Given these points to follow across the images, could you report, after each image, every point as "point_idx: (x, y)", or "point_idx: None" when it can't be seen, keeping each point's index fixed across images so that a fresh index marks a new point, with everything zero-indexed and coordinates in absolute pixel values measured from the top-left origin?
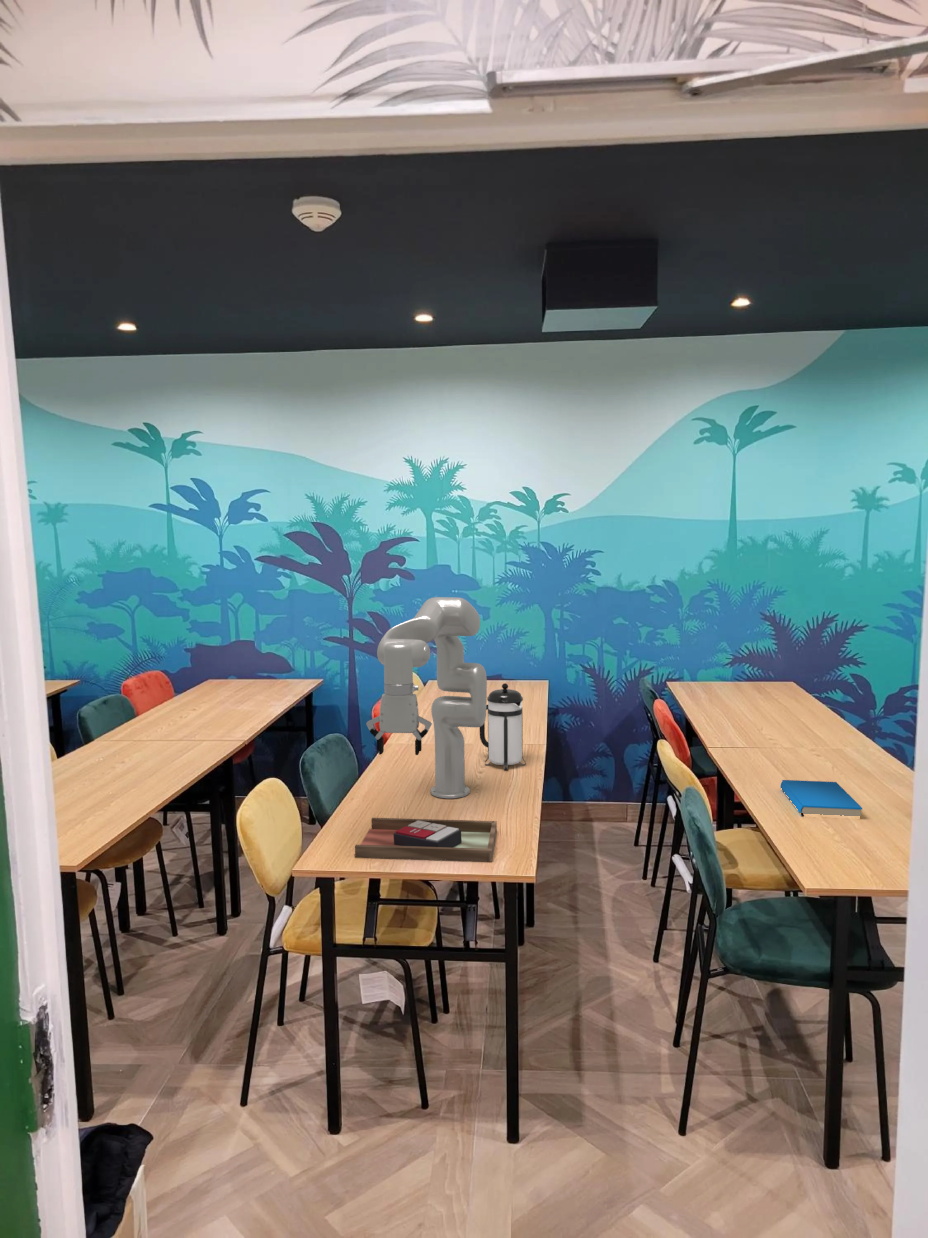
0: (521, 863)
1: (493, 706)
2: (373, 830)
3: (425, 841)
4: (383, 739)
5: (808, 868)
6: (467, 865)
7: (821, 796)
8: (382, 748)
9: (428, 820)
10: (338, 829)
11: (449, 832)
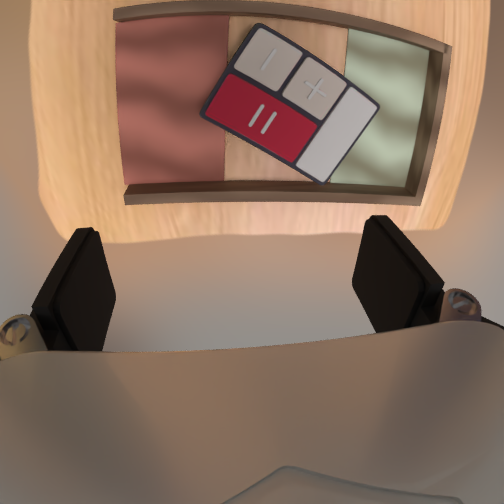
0: (447, 199)
1: None
2: (128, 30)
3: (293, 168)
4: (62, 293)
5: None
6: (367, 209)
7: None
8: (99, 292)
9: (289, 13)
10: (43, 44)
11: (354, 132)
